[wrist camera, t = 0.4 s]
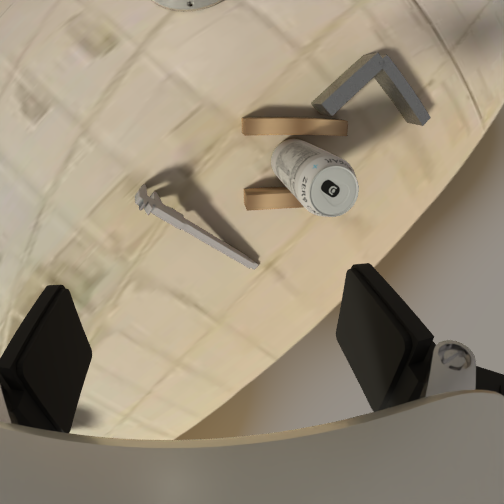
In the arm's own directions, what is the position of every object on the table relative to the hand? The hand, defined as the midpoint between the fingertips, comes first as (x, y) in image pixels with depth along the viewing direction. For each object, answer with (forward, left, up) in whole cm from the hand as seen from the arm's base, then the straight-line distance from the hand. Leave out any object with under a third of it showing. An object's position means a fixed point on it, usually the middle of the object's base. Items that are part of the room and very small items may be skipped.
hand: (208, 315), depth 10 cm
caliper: (+11, -1, -32) cm, 34 cm away
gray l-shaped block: (-9, +22, -32) cm, 40 cm away
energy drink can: (+2, +11, -32) cm, 34 cm away
